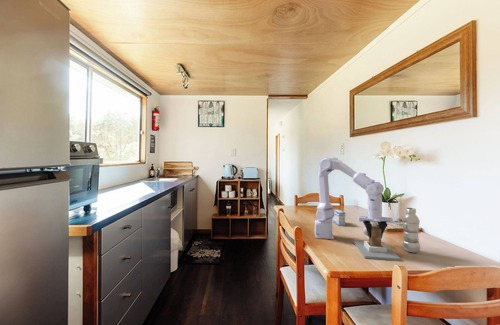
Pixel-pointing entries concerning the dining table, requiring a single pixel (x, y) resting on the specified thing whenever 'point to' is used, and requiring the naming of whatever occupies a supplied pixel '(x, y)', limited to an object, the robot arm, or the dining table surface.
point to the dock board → (376, 251)
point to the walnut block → (375, 236)
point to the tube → (372, 225)
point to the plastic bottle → (411, 231)
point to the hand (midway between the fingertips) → (374, 237)
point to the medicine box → (339, 217)
